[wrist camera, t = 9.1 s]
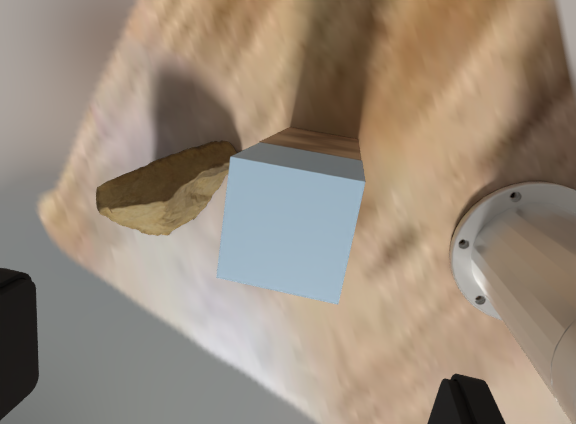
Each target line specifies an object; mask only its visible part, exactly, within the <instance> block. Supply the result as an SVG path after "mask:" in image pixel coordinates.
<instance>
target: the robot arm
mask: <svg viewBox="0 0 576 424" xmlns="http://www.w3.org/2000/svg"><path fill="white" fill-rule="evenodd" d="M513 192H514V196H513V197H510V195H511V193H513ZM462 239H464V242H463V243H459V242H460V241H461V240H462ZM449 258H450V268H451V271H452V275H453V278H454V280H455V282H456V284H457V286H458V288H459V289H460V291H461V292H462V294H463V295H464V297H465V298H466V299H467V300H468V301H469V302H470V303H471V304H472V305H473V306H474V307H475V308H477V309H479V310H480V311H482V312H483V313H485V314H487V315H489V316H491V317H494V318H496V319H499V320H503V322H504V323H505V325H506V326H507V328H508V329H509V331H510V332H511V334H512V335H513V337H514V338H515V340H516V341H517V343H518V344H519V346H520V347H521V349H522V350H523V352H524V353H525V354H526V356H527V357H528V359H529V360H530V362H531V363H532V365H533V366H534V368H535V369H536V371H537V372H538V374H539V375H540V377H541V378H542V380H543V381H544V383H545V384H546V386H547V387H548V389H549V390H550V392H551V393H552V394H553V396H554V397H555V399H556V400H557V402H558V403H559V405H560V406H561V408H562V410H563V411H564V412H565V414H566V415H567V417H568V418H569V420H570V421H571V423H572V424H576V191H575V190H573V189H571V188H568V187H566V186H563V185H560V184H554V183H549V182H524V183H518V184H513V185H510V186H507V187H504V188H501V189H498V190H496V191H494V192H493V193H491V194H489V195H487V196H485V197H484V198H482V199H481V200H480V201H479V202H477V203H476V204H475V205H474V206H472V207H471V209H470V210H469V211H468V212H467V213H466V214H465V215H464V216H463V218H462V219H461V221H460V223H459V224H458V226H457V228H456V229H455V232H454V235H453V238H452V241H451V246H450V253H449ZM478 296H479V297H478ZM476 297H478V298H476ZM38 377H39V370H38V340H37V309H36V287H35V284H34V282H32V280H31V277H30V276H29V275H28V274H26V273H23V272H19V271H14V270H10V269H5V268H0V420H1V419H2V418H3V417H5V416H6V415H7V414H8V413H9V412H10V411H11V410H12V409H13V408H14V407H16V406H17V405H18V404H19V403H20V402H21V401H22V400H23V399H24V398H25V397H27V396H28V395H29V394H30V393H31V392H32V391H33V389H34V388H35V386H36V384H37V381H38ZM428 424H505V422H504V419H503V417H502V415H501V413H500V411H499V409H498V407H497V404H496V402H495V400H494V398H493V396H492V394H491V392H490V389H489V387H488V385H487V384H486V382H485V381H484V380H481V379H477V378H472V377H468V376H464V375H460V374H454V375H453V376H452V377H451V379H450V380H449V379H443V380H442V382H441V384H440V387H439V390H438V393H437V396H436V399H435V402H434V406H433V409H432V412H431V415H430V418H429V421H428Z"/></svg>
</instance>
